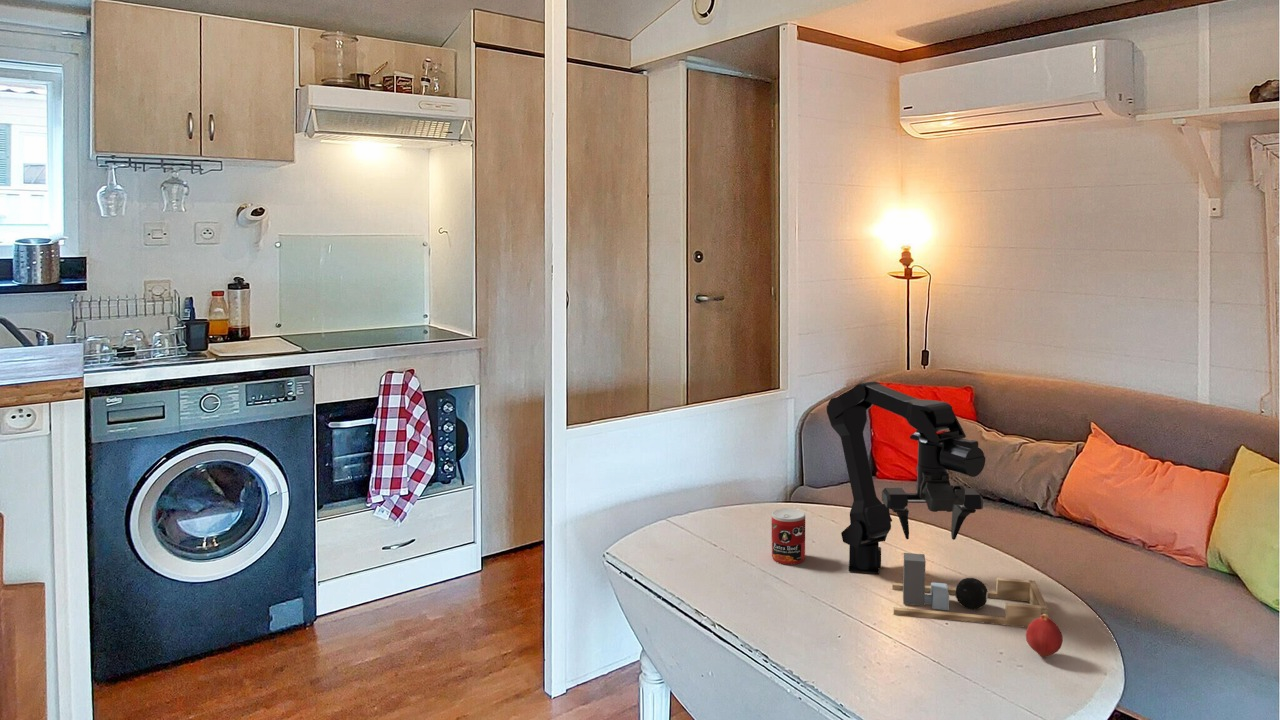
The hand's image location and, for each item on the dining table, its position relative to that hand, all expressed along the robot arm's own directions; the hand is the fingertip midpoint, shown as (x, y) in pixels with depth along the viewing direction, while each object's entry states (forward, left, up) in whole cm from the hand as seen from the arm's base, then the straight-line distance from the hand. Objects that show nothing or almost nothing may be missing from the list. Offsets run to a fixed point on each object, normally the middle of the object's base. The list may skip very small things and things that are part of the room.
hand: (930, 538), depth 169 cm
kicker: (-1, -3, -12) cm, 13 cm away
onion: (+18, -21, -13) cm, 30 cm away
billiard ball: (+8, -3, -13) cm, 15 cm away
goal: (+17, -3, -13) cm, 21 cm away
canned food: (-30, +15, -13) cm, 36 cm away
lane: (+3, -3, -13) cm, 13 cm away
